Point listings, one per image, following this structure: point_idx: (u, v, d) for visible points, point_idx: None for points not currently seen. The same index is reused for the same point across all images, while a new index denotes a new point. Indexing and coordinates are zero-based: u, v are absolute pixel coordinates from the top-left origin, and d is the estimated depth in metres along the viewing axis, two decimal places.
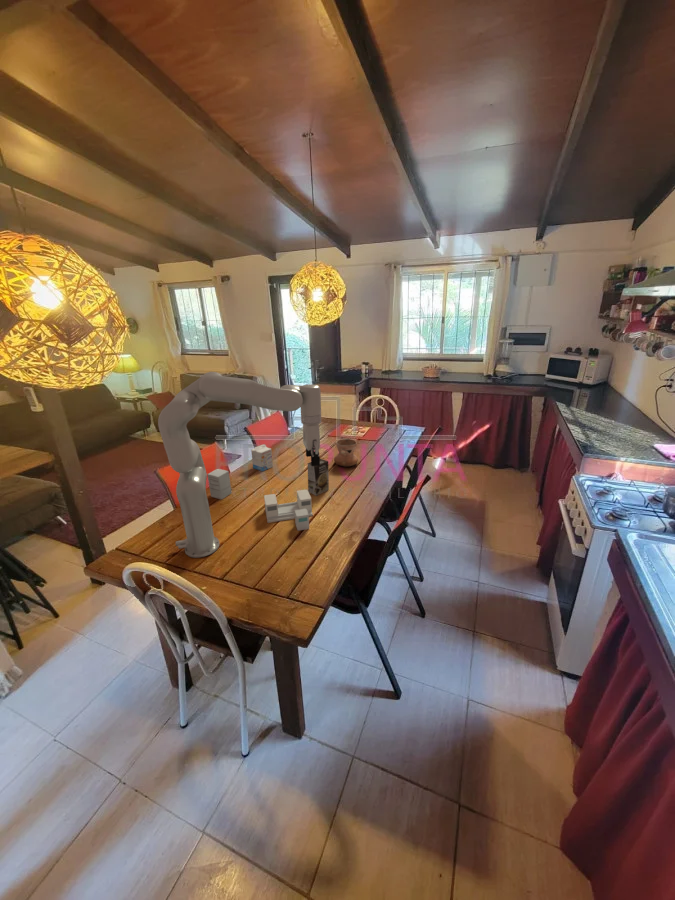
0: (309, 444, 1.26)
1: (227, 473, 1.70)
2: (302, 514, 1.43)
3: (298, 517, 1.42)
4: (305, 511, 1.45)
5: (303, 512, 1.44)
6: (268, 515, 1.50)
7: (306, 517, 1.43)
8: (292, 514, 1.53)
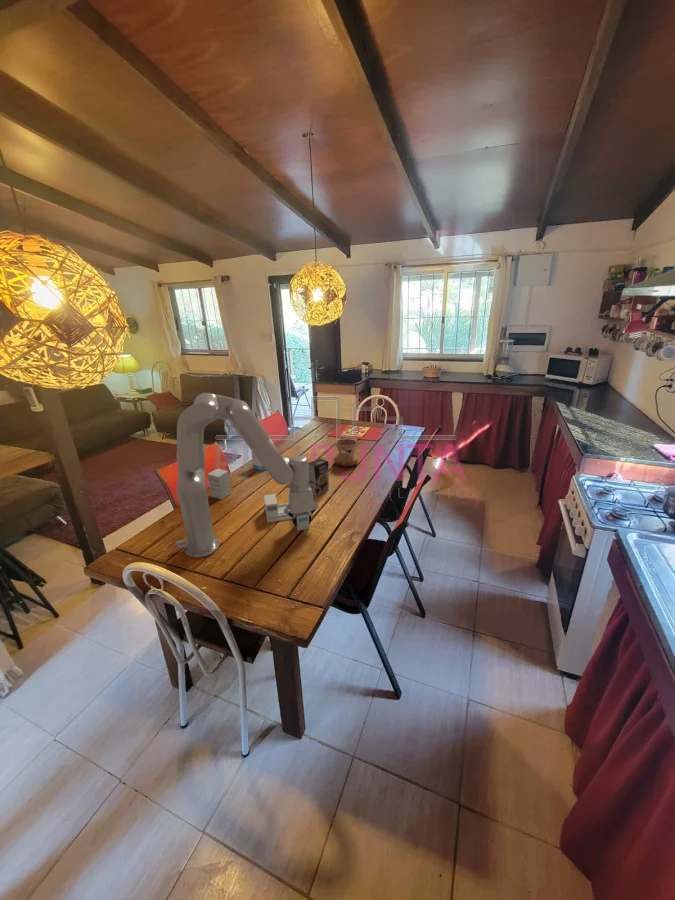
0: (313, 504, 1.42)
1: (227, 473, 1.70)
2: (302, 514, 1.43)
3: (298, 517, 1.42)
4: None
5: None
6: (268, 515, 1.50)
7: (306, 517, 1.43)
8: None
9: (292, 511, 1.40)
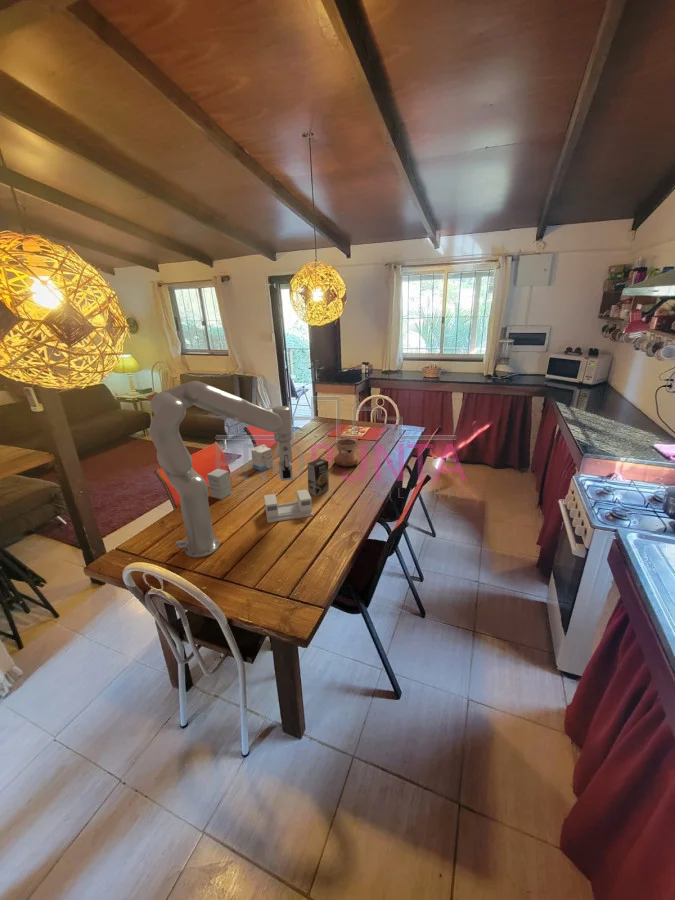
0: None
1: (227, 473, 1.70)
2: (289, 462, 1.49)
3: (291, 465, 1.48)
4: None
5: None
6: (268, 515, 1.50)
7: None
8: (292, 514, 1.53)
9: (292, 460, 1.45)
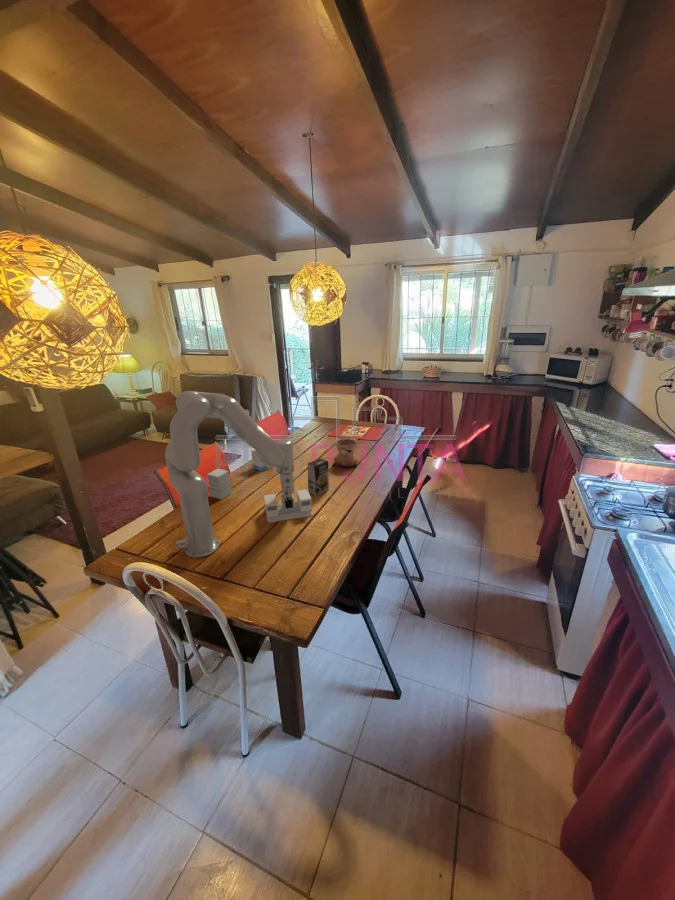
0: None
1: (227, 473, 1.70)
2: None
3: (293, 498, 1.54)
4: None
5: None
6: (268, 515, 1.50)
7: None
8: (292, 514, 1.53)
9: None
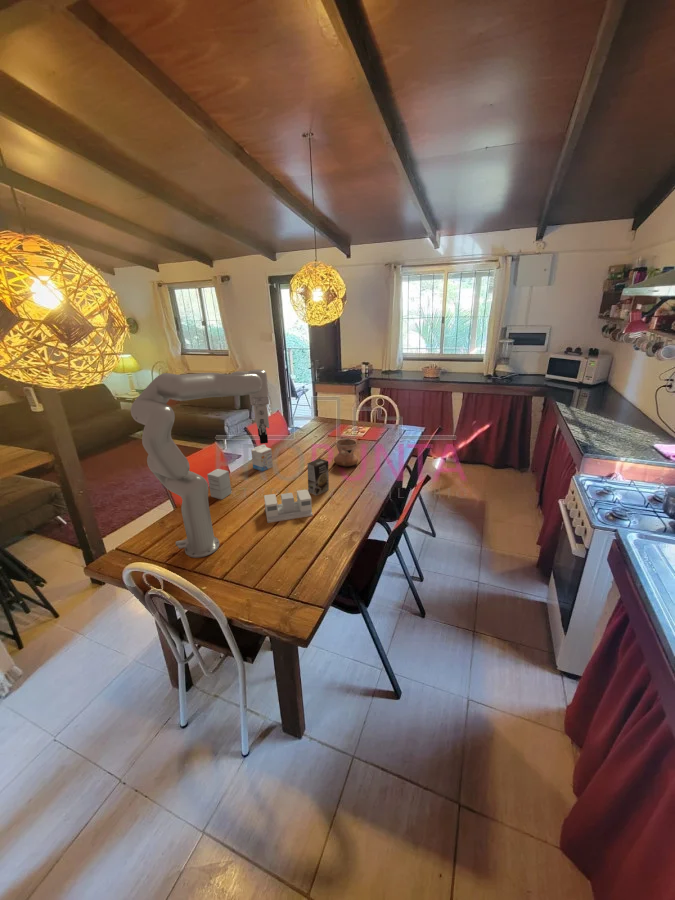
0: None
1: (227, 473, 1.70)
2: (291, 495, 1.55)
3: (293, 498, 1.54)
4: (286, 494, 1.56)
5: (287, 494, 1.55)
6: (268, 515, 1.50)
7: None
8: (292, 514, 1.53)
9: (268, 425, 1.43)
